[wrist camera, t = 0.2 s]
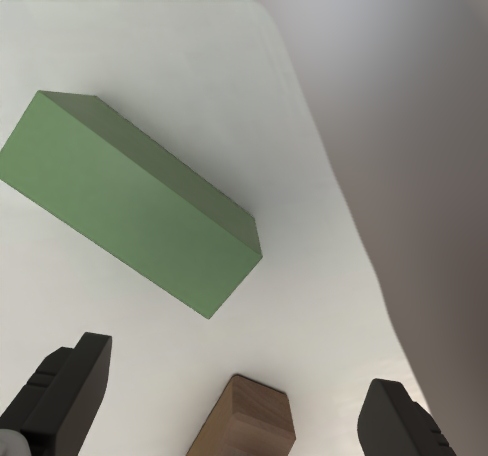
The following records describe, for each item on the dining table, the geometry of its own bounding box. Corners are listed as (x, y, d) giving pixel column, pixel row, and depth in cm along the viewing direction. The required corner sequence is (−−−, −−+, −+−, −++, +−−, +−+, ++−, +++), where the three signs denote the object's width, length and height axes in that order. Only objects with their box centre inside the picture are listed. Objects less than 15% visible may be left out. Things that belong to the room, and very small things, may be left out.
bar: (95, 95, 26) (37, 89, 18) (255, 218, 29) (263, 257, 21) (56, 153, 27) (-13, 171, 19) (214, 266, 30) (208, 320, 22)
